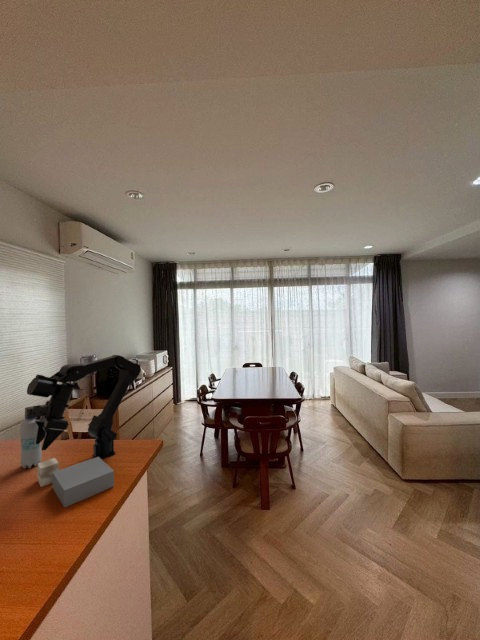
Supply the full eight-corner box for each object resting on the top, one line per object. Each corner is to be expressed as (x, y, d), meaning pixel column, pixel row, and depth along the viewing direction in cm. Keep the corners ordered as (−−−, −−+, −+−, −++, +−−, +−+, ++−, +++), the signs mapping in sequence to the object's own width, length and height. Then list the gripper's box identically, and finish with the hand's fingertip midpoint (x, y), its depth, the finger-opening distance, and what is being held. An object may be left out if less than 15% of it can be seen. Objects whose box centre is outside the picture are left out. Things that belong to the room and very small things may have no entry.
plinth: (98, 470, 99) (98, 456, 99) (114, 486, 89) (113, 470, 89) (52, 487, 89) (52, 472, 89) (64, 507, 79) (64, 490, 79)
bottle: (46, 462, 105) (45, 410, 105) (28, 471, 99) (27, 415, 99) (34, 459, 108) (33, 408, 108) (15, 468, 101) (14, 414, 101)
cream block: (55, 474, 96) (54, 457, 97) (58, 480, 93) (58, 462, 93) (37, 481, 93) (37, 463, 93) (40, 487, 89) (40, 468, 89)
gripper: (28, 392, 99) (7, 438, 93) (39, 398, 86) (16, 452, 81) (61, 398, 106) (44, 441, 101) (76, 404, 93) (57, 454, 88)
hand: (40, 446), depth 92 cm, fingers open, 9 cm apart
